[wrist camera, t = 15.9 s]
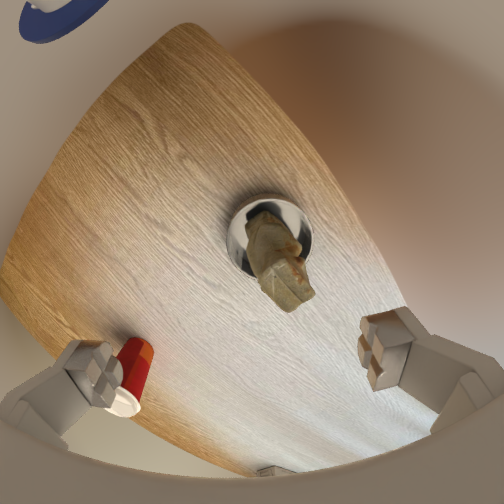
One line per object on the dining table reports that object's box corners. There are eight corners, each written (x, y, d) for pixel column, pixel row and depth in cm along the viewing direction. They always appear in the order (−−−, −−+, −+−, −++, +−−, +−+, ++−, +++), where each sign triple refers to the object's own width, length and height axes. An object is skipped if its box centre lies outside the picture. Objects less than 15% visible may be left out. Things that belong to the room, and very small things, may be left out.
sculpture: (267, 264, 38) (275, 328, 24) (236, 223, 36) (227, 270, 22) (302, 241, 37) (331, 296, 23) (273, 198, 35) (288, 230, 21)
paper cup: (116, 348, 45) (88, 400, 32) (129, 325, 43) (97, 380, 30) (150, 369, 47) (130, 424, 34) (166, 348, 44) (145, 408, 31)
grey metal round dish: (223, 198, 35) (219, 205, 31) (303, 188, 35) (310, 193, 31) (235, 272, 39) (233, 286, 35) (309, 262, 39) (315, 276, 35)
